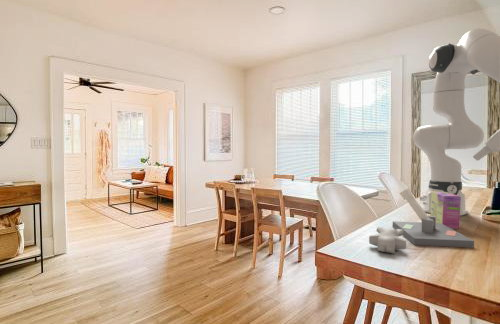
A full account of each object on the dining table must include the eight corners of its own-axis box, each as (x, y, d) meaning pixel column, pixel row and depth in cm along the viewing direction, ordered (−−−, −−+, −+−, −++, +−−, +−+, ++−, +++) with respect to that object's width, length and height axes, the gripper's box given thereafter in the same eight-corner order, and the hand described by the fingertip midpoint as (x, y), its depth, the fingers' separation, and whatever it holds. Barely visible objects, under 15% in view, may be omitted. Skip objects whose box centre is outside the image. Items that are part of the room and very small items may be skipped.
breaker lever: (437, 224, 95) (409, 187, 99) (435, 227, 91) (406, 189, 96) (428, 228, 96) (401, 192, 101) (426, 231, 93) (398, 193, 98)
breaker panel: (392, 226, 106) (392, 210, 105) (440, 228, 103) (440, 211, 103) (414, 244, 86) (414, 224, 86) (473, 247, 83) (474, 227, 83)
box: (460, 229, 103) (461, 196, 102) (442, 228, 104) (443, 195, 103) (446, 221, 113) (447, 191, 112) (430, 221, 114) (431, 191, 113)
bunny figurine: (366, 238, 80) (374, 220, 93) (366, 255, 81) (374, 235, 94) (405, 243, 75) (407, 223, 88) (404, 261, 76) (407, 239, 89)
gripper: (508, 118, 89) (467, 150, 95) (513, 113, 73) (463, 152, 80) (528, 132, 86) (484, 164, 93) (537, 130, 70) (484, 168, 77)
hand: (475, 158), depth 86 cm, fingers closed
